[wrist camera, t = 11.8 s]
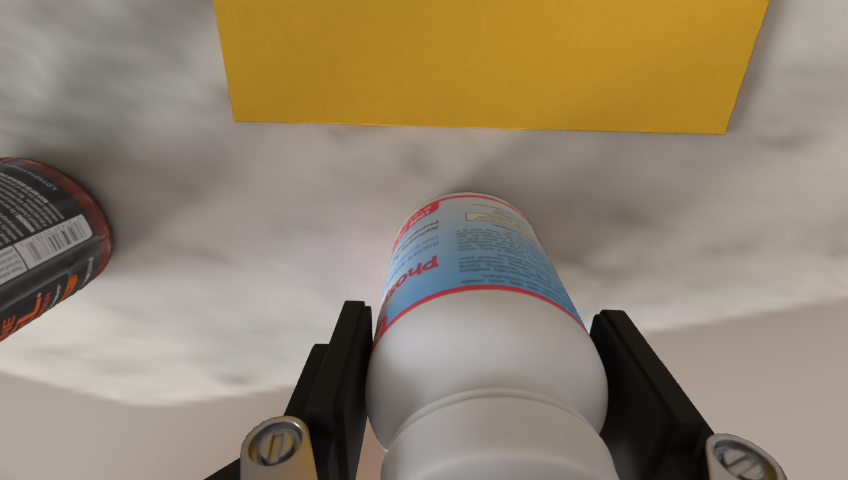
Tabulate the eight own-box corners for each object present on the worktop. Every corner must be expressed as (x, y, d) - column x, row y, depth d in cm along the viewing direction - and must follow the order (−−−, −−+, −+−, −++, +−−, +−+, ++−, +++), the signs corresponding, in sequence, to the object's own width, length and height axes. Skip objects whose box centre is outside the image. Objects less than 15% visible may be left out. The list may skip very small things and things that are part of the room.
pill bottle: (402, 177, 16) (340, 395, 6) (552, 199, 16) (750, 447, 6) (387, 303, 18) (325, 608, 8) (516, 320, 19) (611, 640, 8)
